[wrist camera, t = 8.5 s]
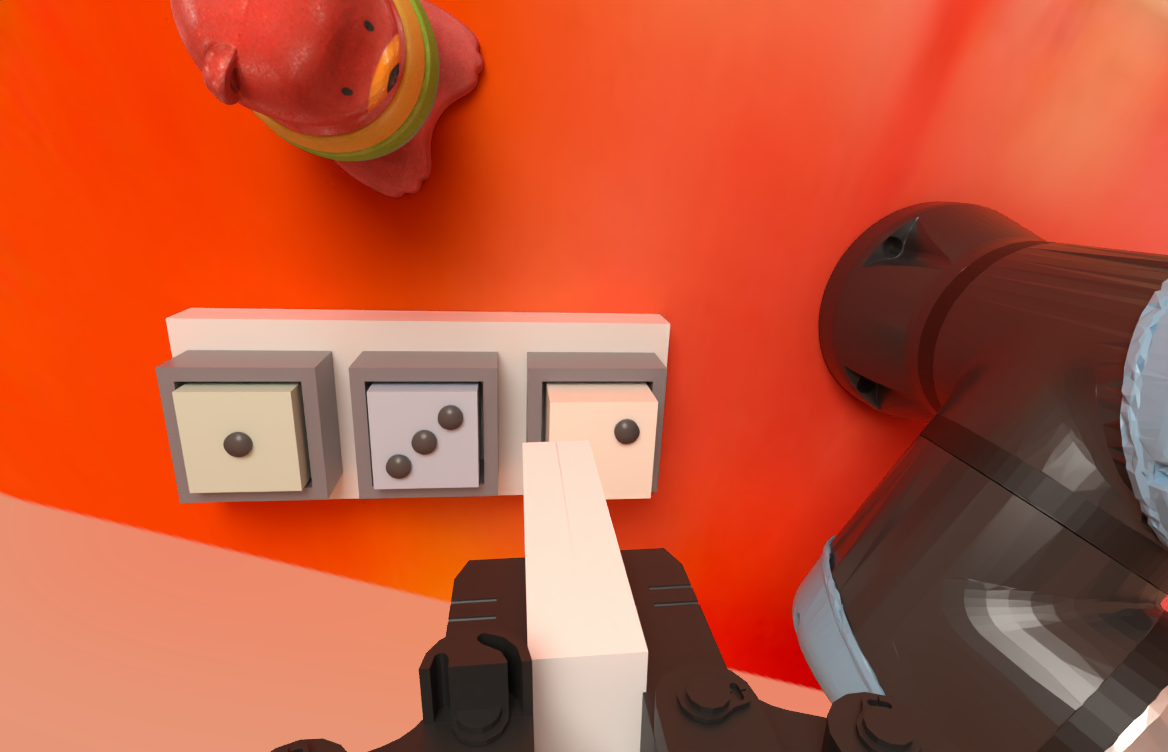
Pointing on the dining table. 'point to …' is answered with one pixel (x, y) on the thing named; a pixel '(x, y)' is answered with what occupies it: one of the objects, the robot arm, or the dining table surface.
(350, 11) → the stacking bear
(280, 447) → the button one dot
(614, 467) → the button two dot
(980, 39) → the dining table surface
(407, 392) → the button three dot
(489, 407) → the button panel
